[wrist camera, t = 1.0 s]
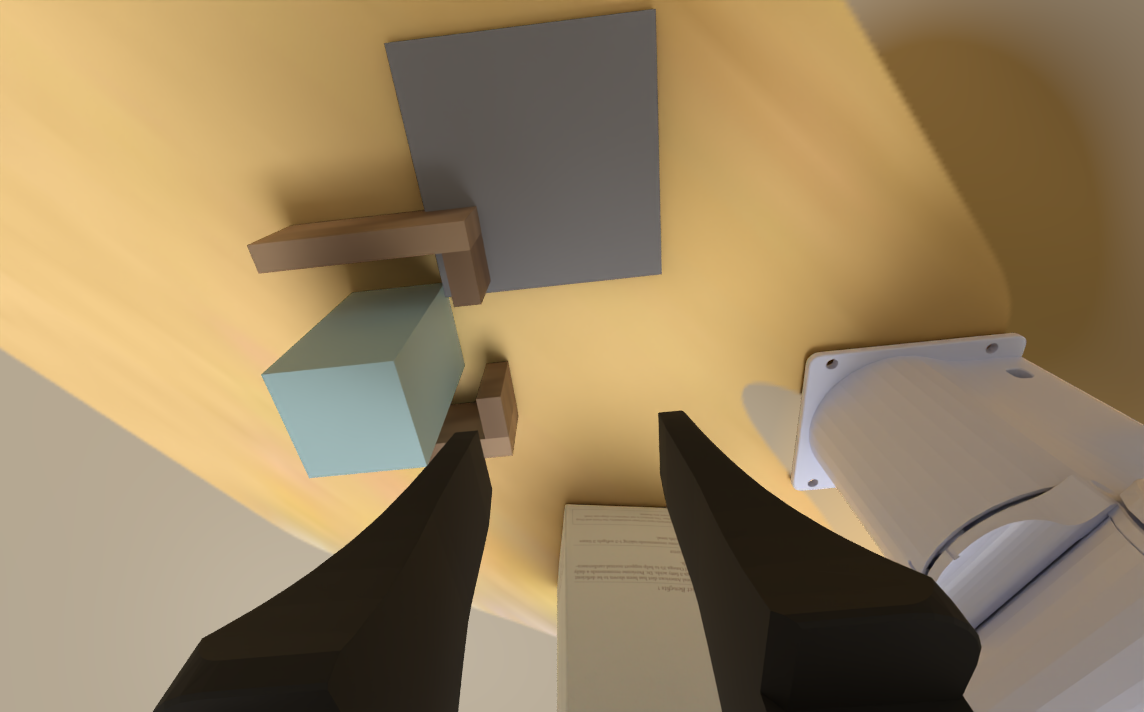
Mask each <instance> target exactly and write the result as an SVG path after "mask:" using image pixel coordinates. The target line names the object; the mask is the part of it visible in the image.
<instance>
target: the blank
mask: <svg viewBox="0 0 1144 712" xmlns="http://www.w3.org/2000/svg"><path fill="white" fill-rule="evenodd" d="M464 367H465V363H464V359H463V355H462V351H461V347H460V342H459V338H458V334H457V330H456V326H455V322H454V317H453V313H452V309H451V305H450V301H449V297H445V293H444V289H443V284H442V283H435V284H426V285H417V286H408V287H399V288H389V289H380V290H371V291H362V292H353V293H351V294H350V295H349V296H348V297H347V298H346V299H344V300H343V301H342V302H341V303H340V304H339V305H338V306H337V307H336V308H335V309H333V310H332V311H331V312H330V313H329V314H328V315H327V316H326V317H325V318H323V319H322V320H321V321H320V322H319V323H318V324H317V325H316V326H315V327H313V328H312V329H311V330H310V331H309V332H308V333H307V334H306V335H305V336H304V337H302V338H301V339H300V340H299V341H298V342H297V343H296V344H295V345H294V346H292V347H291V348H290V349H289V350H288V351H287V352H286V353H285V354H284V355H283V356H281V357H280V358H279V359H278V360H277V361H276V362H275V363H274V364H273V365H271V366H270V367H269V368H268V369H267V370H266V371H265V372H264V373H263V374H261V376H262V378H263V380H264V382H265V384H266V386H267V388H268V391H269V393H270V395H271V397H272V399H273V401H274V403H275V406H276V408H277V410H278V412H279V414H280V416H281V418H282V421H283V423H284V425H285V427H286V429H287V431H288V433H289V436H290V438H291V440H292V442H293V444H294V446H295V448H296V451H297V453H298V455H299V457H300V459H301V461H302V463H303V466H304V468H305V470H306V472H307V474H308V476H309V478H315V477H326V476H336V475H347V474H357V473H367V472H378V471H388V470H399V469H409V468H420V467H426V466H427V465H428V463H429V460H430V458H431V455H432V452H433V450H434V447H435V444H436V442H437V439H438V436H439V434H440V431H441V428H442V426H443V423H444V420H445V418H446V415H447V412H448V409H449V407H450V404H451V401H452V399H453V396H454V393H455V391H456V388H457V385H458V383H459V380H460V377H461V375H462V372H463V369H464Z"/></svg>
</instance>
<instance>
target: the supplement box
mask: <svg viewBox="0 0 1144 712" xmlns="http://www.w3.org/2000/svg"><path fill="white" fill-rule="evenodd" d="M557 712H722V710H721V705H720V700H719V695H718V691H717V686H716V681H715V677H714V672H713V668H712V663H711V659H710V654H709V649H708V645H707V641H706V636H705V632H704V628H703V623H702V619H701V614H700V610H699V606H698V602H697V599H696V595H695V592H694V588H693V585H692V582H691V579H690V576H689V573H688V570H687V567H686V564H685V561H684V558H683V555H682V552H681V549H680V546H679V543H678V540H677V537H676V534H675V531H674V528H673V525H672V522H671V519H670V515H669V512H668V509H667V508H654V507H626V506H601V505H574V504H566V505H565V510H564V520H563V530H562V540H561V549H560V558H559V571H558V585H557Z"/></svg>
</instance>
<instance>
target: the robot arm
mask: <svg viewBox="0 0 1144 712" xmlns="http://www.w3.org/2000/svg"><path fill="white" fill-rule="evenodd" d="M990 344H991V345H990ZM989 345H990V347H989V348H987V347H988V346H989ZM1025 346H1026V339H1025V337H1023V336H1021V335H1019V334H1017V333H1005V334H995V335H985V336H975V337H965V338H955V339H945V340H935V341H925V342H915V343H905V344H895V345H885V346H875V347H865V348H856V349H846V350H836V351H826V352H817V353H814V354H812V355H811V356H810V357H809V358H808V359H807V362H806V368H805V375H804V383H803V390H802V398H801V406H800V414H799V421H798V429H797V436H796V444H795V451H794V458H793V466H792V474H791V484H792V485H793V487H794V488H795V489H796V490H800V491H803V490H814V489H825V488H837V490H838V491H839V492H840V494H841V495H842V497H843V498H844V499H845V501H846V502H847V504H848V505H849V507H850V508H851V509H852V511H853V512H854V514H855V515H856V516H857V518H858V519H859V521H860V522H861V524H862V525H863V526H864V528H865V529H866V531H867V532H868V534H869V535H870V536H871V538H872V539H873V541H874V542H875V543H876V545H877V546H878V548H879V549H880V550H881V552H882V553H883V555H884V556H885V558H884V557H882V556H880V555H878V554H876V553H874V552H871V551H869V550H867V549H865V548H864V547H861V546H860V545H857V544H855V543H853V542H851V541H849V540H847V539H845V538H843V537H842V536H840V535H838V534H836V533H834V532H832V531H831V530H829V529H827V528H825V527H823V526H822V525H820V524H818V523H817V522H815V521H813V520H812V519H810V518H808V517H807V516H805V515H803V514H801V513H800V512H798V511H797V510H795V509H794V508H792V507H791V506H789V505H787V504H786V503H785V502H783V501H782V500H780V499H779V498H777V497H776V496H775V495H773V494H772V493H770V492H769V491H767V490H766V489H765V488H764V487H762V486H761V485H760V484H758V483H757V482H756V481H755V480H753V479H752V478H751V477H750V476H749V475H748V474H746V473H745V472H744V471H743V470H742V469H740V468H739V467H738V466H737V465H736V464H735V463H734V462H733V461H731V460H730V459H729V458H728V457H727V456H726V455H725V454H724V453H723V452H722V451H721V450H720V449H719V448H718V447H717V446H716V445H715V444H714V443H713V442H712V441H711V440H710V439H709V438H708V437H707V436H706V435H705V434H704V433H703V432H702V431H701V430H700V429H699V428H698V427H697V426H696V425H695V423H694V422H693V421H692V420H691V419H690V418H689V417H688V416H687V414H686V413H684V412H683V411H672V412H662V413H658V418H659V452H660V476H661V481H662V486H663V491H664V495H665V500H666V505H667V509H668V512H669V515H670V519H671V522H672V525H673V528H674V531H675V534H676V537H677V540H678V543H679V546H680V549H681V552H682V555H683V558H684V561H685V564H686V567H687V570H688V573H689V576H690V579H691V582H692V585H693V588H694V592H695V595H696V599H697V602H698V606H699V610H700V614H701V619H702V623H703V628H704V632H705V636H706V641H707V645H708V649H709V654H710V659H711V663H712V668H713V672H714V677H715V681H716V686H717V691H718V695H719V700H720V705H721V710H722V712H1144V425H1143V424H1141V423H1139V422H1138V421H1136V420H1134V419H1132V418H1130V417H1129V416H1127V415H1125V414H1123V413H1122V412H1120V411H1118V410H1116V409H1114V408H1112V407H1111V406H1109V405H1107V404H1105V403H1104V402H1102V401H1100V400H1098V399H1096V398H1094V397H1093V396H1091V395H1089V394H1087V393H1086V392H1084V391H1082V390H1080V389H1078V388H1077V387H1075V386H1073V385H1071V384H1069V383H1067V382H1066V381H1064V380H1062V379H1061V378H1059V377H1057V376H1055V375H1053V374H1052V373H1050V372H1048V371H1046V370H1044V369H1042V368H1041V367H1039V366H1037V365H1035V364H1034V363H1032V362H1030V361H1028V360H1026V359H1024V358H1023V357H1022V354H1023V352H1024V349H1025ZM986 348H987V349H986ZM832 359H834V360H833V362H832V363H831V364H830V365H826V364H827V362H828V361H829V360H832ZM812 479H814V480H812ZM810 480H812V481H810ZM809 481H810V482H809ZM491 497H492V487H491V483H490V478H489V474H488V470H487V466H486V462H485V458H484V454H483V449H482V445H481V441H480V437H479V433H478V430H476V431H465V432H455V433H454V434H453V436H452V437H451V438H450V439H449V440H448V441H447V442H446V444H445V445H444V446H443V447H442V448H441V450H440V451H439V452H438V453H437V454H436V456H435V457H434V458H433V459H432V460H431V461H430V463H429V464H428V465H427V466H426V467H425V468H424V470H423V471H422V472H421V473H420V474H419V475H418V476H417V478H416V479H415V480H414V481H413V482H412V483H411V484H410V486H409V487H408V488H407V489H406V490H405V491H404V492H403V493H402V494H401V495H400V496H399V497H398V498H397V499H396V500H395V501H394V502H393V503H392V504H391V505H390V506H389V507H388V508H387V509H386V510H385V511H384V512H383V513H382V514H381V515H380V516H379V517H378V518H377V519H376V520H375V521H374V522H373V523H372V524H370V525H369V526H368V527H367V528H366V529H365V530H364V531H362V532H361V533H360V534H359V535H358V536H357V537H355V538H354V539H353V540H352V541H351V542H349V543H348V544H347V545H346V546H345V547H343V548H342V549H341V550H339V551H338V552H337V553H335V554H334V555H333V556H331V557H330V558H329V559H328V560H326V561H325V562H324V563H322V564H321V565H320V566H318V567H317V568H316V569H314V570H313V571H312V572H310V573H309V574H307V575H306V576H304V577H303V578H302V579H300V580H299V581H297V582H296V583H294V584H293V585H291V586H290V587H288V588H287V589H285V590H284V591H282V592H281V593H279V594H277V595H276V596H274V597H273V598H271V599H270V600H268V601H267V602H265V603H263V604H262V605H260V606H258V607H257V608H255V609H253V610H252V611H250V612H248V613H246V614H245V615H243V616H241V617H240V618H238V619H236V620H234V621H232V622H231V623H229V624H227V625H226V626H224V627H222V628H220V629H219V630H217V631H215V632H213V633H211V634H209V635H208V636H206V637H204V638H202V640H201V641H200V643H199V644H198V646H197V647H196V648H195V650H194V651H193V653H192V654H191V656H190V657H189V659H188V660H187V662H186V663H185V665H184V666H183V668H182V669H181V671H180V672H179V673H178V675H177V676H176V678H175V679H174V681H173V682H172V684H171V685H170V687H169V688H168V690H167V691H166V693H165V694H164V696H163V697H162V699H161V700H160V702H159V703H158V705H157V706H156V708H155V709H154V711H153V712H458V707H459V697H460V688H461V678H462V669H463V660H464V652H465V644H466V635H467V627H468V620H469V615H470V609H471V604H472V599H473V595H474V590H475V586H476V582H477V577H478V573H479V568H480V564H481V559H482V555H483V550H484V546H485V541H486V536H487V532H488V527H489V519H490V510H491Z"/></svg>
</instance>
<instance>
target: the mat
mask: <svg viewBox="0 0 1144 712" xmlns="http://www.w3.org/2000/svg"><path fill="white" fill-rule="evenodd" d="M384 45H385V49H386V53H387V57H388V61H389V65H390V69H391V73H392V78H393V82H394V86H395V90H396V94H397V98H398V102H399V107H400V111H401V115H402V119H403V123H404V127H405V131H406V136H407V140H408V144H409V148H410V152H411V156H412V160H413V164H414V169H415V173H416V177H417V181H418V185H419V189H420V193H421V198H422V202H423V206H424V210H425V212H429V211H438V210H447V209H455V208H464V207H473V206H476V207H477V212H478V217H479V222H480V227H481V233H482V238H483V243H484V248H485V253H486V258H487V264H488V269H489V274H490V279H491V282H490V284H489V286H488V289H487V291H486V293H491V292H500V291H509V290H519V289H528V288H537V287H547V286H556V285H565V284H575V283H584V282H593V281H603V280H612V279H621V278H631V277H640V276H649V275H659V274H662V269H661V224H660V180H659V135H658V90H657V45H656V9H650V10H642V11H635V12H627V13H619V14H611V15H603V16H595V17H587V18H579V19H571V20H564V21H556V22H548V23H540V24H532V25H524V26H516V27H508V28H501V29H493V30H485V31H477V32H469V33H461V34H453V35H445V36H438V37H430V38H422V39H414V40H406V41H398V42H390V43H384ZM435 255H436V260H437V264H438V268H439V272H440V276H441V280H442V284H443V289H444V293H445V297H452V296H451V291H450V287H449V283H448V279H447V274H446V270H445V266H444V262H443V257H442V253H440V254H435Z"/></svg>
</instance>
